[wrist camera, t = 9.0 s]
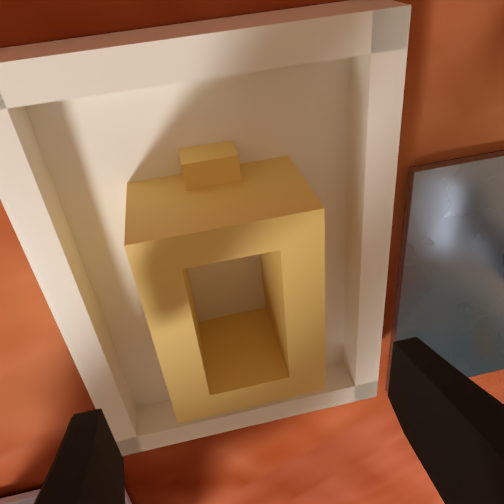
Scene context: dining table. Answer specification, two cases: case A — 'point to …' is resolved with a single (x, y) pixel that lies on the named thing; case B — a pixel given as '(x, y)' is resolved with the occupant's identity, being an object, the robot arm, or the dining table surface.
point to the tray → (168, 163)
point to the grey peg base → (454, 263)
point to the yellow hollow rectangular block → (221, 249)
